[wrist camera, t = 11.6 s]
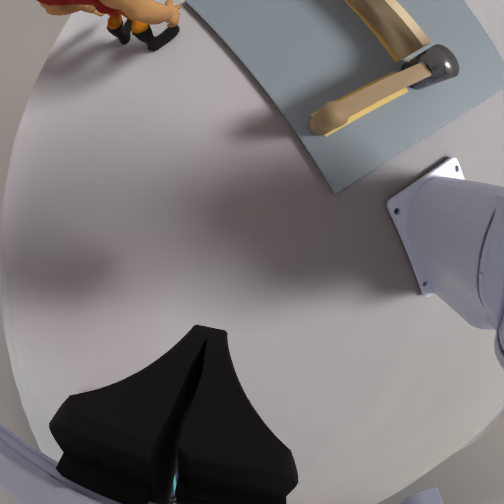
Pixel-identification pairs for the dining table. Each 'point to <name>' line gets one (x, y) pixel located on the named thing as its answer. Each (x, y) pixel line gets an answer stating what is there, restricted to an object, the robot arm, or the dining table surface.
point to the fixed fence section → (364, 99)
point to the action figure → (134, 9)
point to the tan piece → (393, 25)
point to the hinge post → (434, 65)
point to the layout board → (354, 72)
